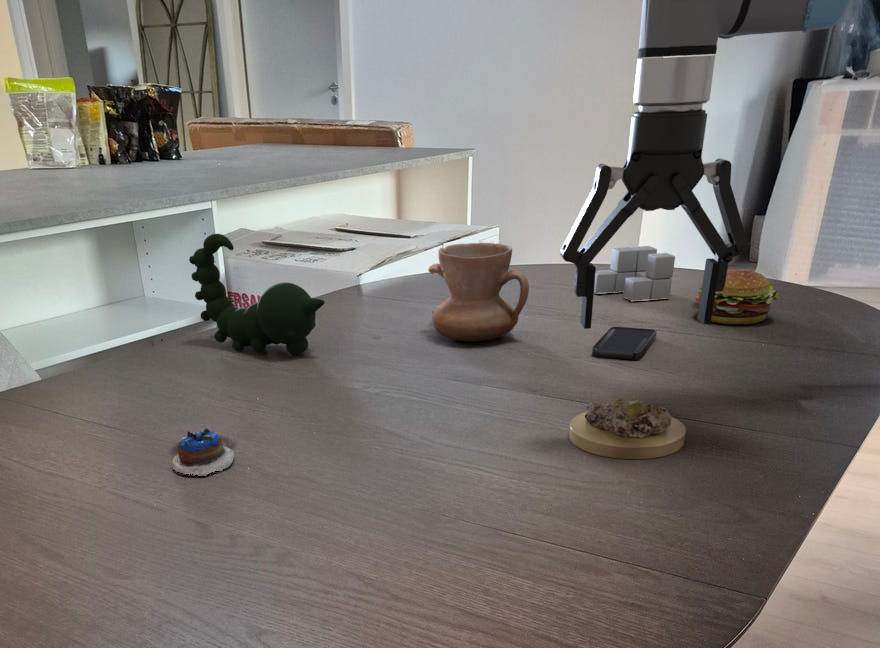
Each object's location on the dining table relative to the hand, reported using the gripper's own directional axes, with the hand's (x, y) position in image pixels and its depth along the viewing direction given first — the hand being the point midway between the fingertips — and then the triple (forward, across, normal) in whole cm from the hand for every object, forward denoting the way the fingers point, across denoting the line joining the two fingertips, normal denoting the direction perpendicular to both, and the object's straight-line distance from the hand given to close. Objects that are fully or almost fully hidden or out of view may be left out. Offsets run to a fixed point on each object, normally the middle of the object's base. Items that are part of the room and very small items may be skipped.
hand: (644, 323), depth 98 cm
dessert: (+13, +53, +6) cm, 55 cm away
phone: (+14, -7, -41) cm, 44 cm away
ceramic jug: (+14, +17, -49) cm, 53 cm away
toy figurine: (+13, +53, -44) cm, 70 cm away
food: (+14, -30, -58) cm, 67 cm away
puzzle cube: (+14, -16, -78) cm, 80 cm away
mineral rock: (+12, +1, 0) cm, 12 cm away
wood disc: (+14, +1, 0) cm, 14 cm away
